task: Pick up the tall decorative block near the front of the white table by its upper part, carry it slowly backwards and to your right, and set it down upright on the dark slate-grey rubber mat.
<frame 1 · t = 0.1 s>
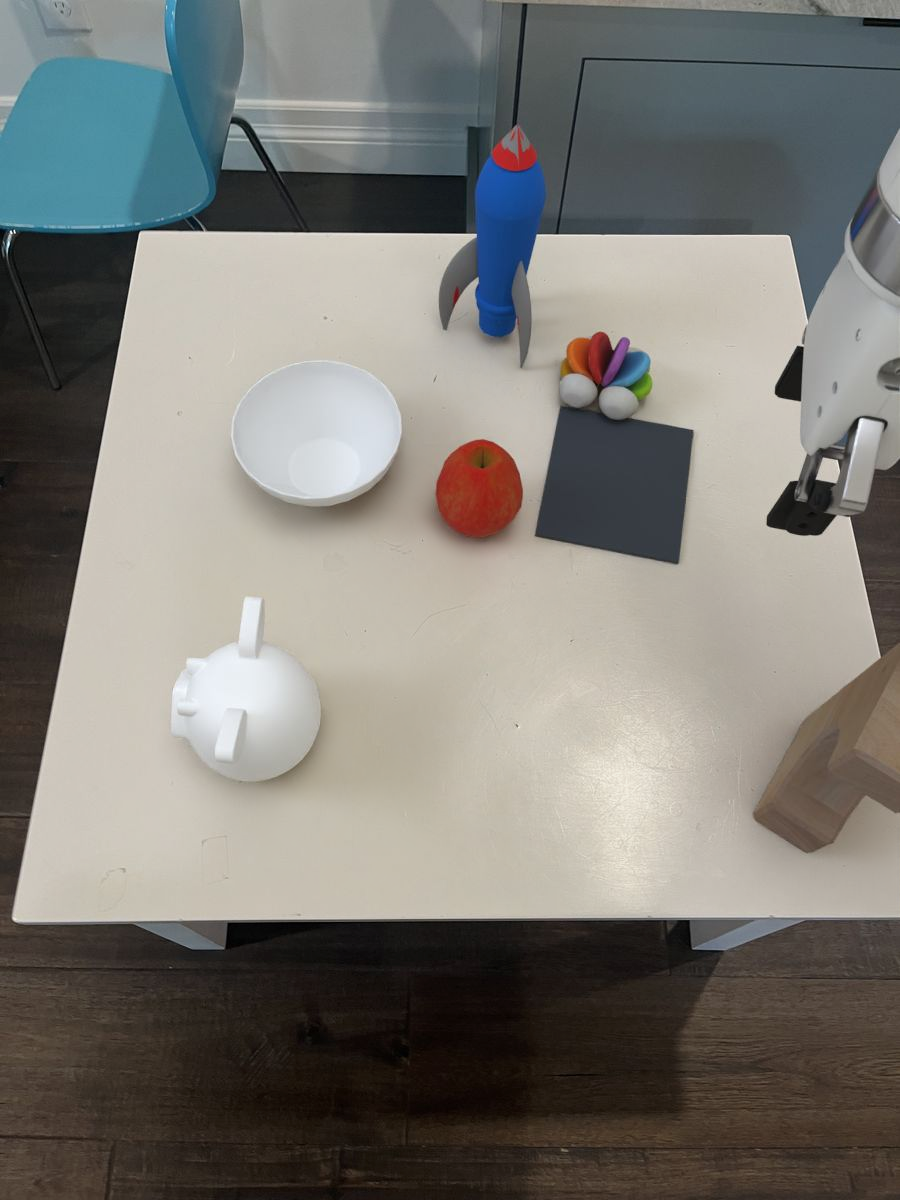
hand: (795, 459, 53), 30 cm above the table, tool pointing down, fingers open, 9 cm apart
mat: (616, 482, 88), on the table
piggy bank: (260, 736, 76), on the table
bowl: (324, 469, 88), on the table
rainbow petal flower: (601, 392, 93), on the table, touching mat
apple: (476, 517, 86), on the table
decorative block: (806, 784, 76), on the table
toy rocket: (481, 335, 97), on the table
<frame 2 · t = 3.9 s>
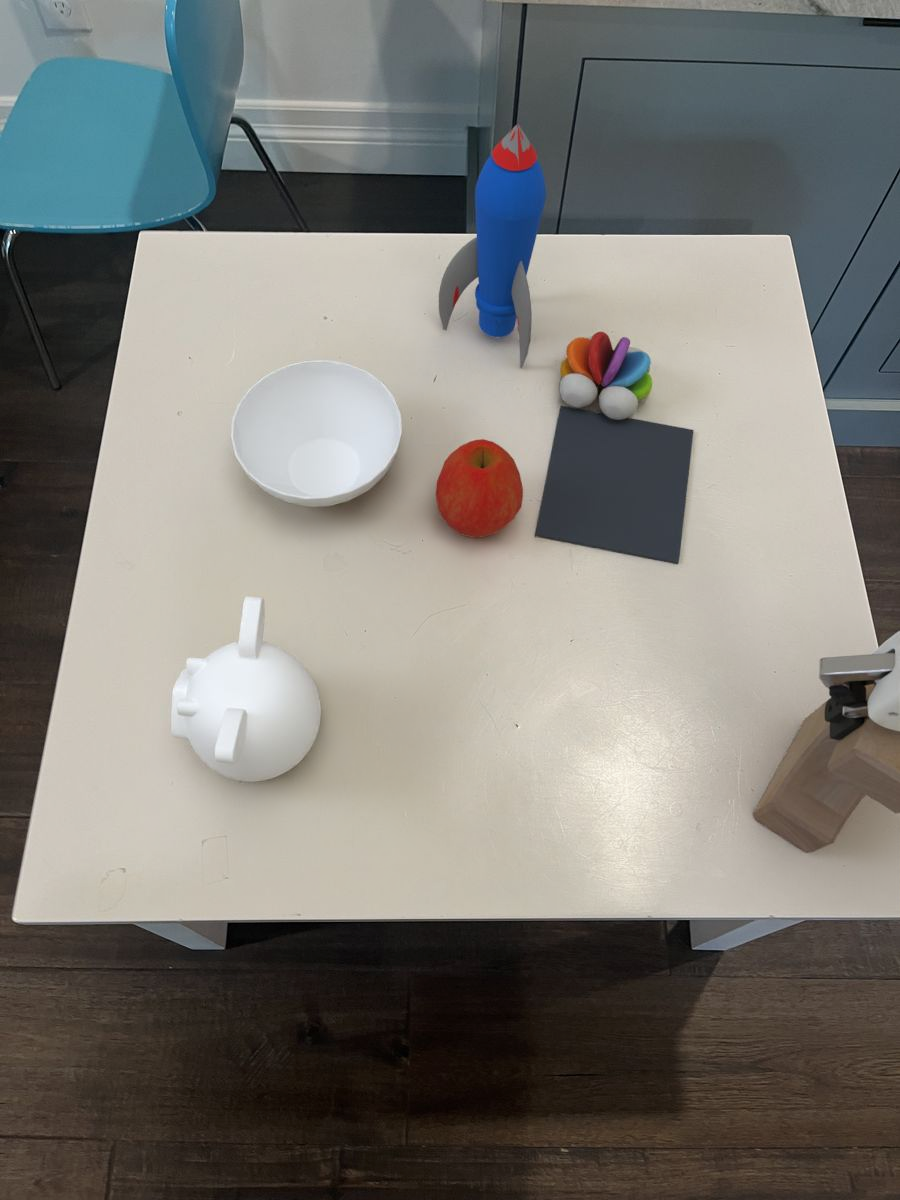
hand: (892, 730, 62), 15 cm above the table, tool pointing down, fingers closed on decorative block, 7 cm apart
decorative block: (806, 784, 76), on the table, touching gripper
everything else where it was.
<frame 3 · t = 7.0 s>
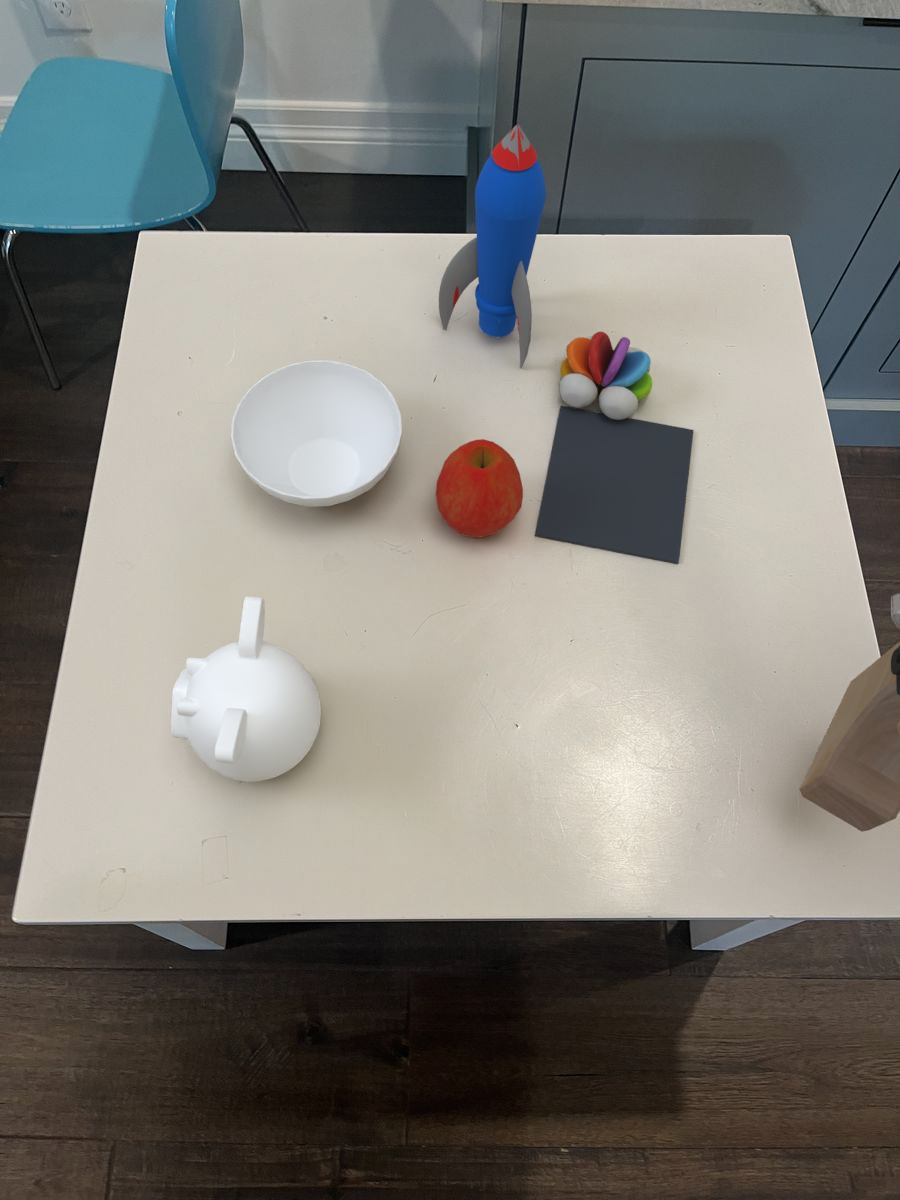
decorative block: (856, 755, 67), point 9 cm above the table, touching gripper
everything else where it was.
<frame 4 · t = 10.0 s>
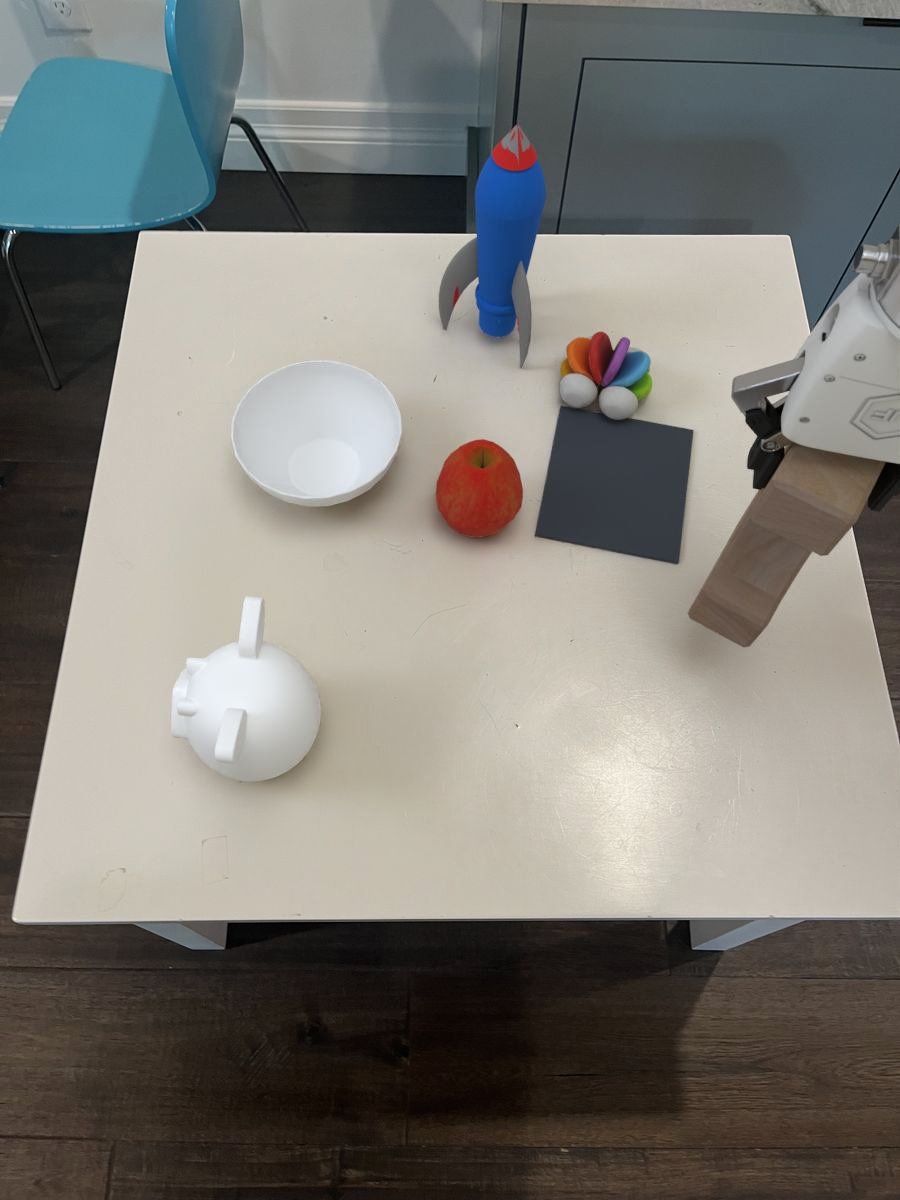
hand: (816, 481, 59), 25 cm above the table, tool pointing down, fingers closed on decorative block, 7 cm apart
decorative block: (741, 584, 73), point 9 cm above the table, touching gripper
everything else where it was.
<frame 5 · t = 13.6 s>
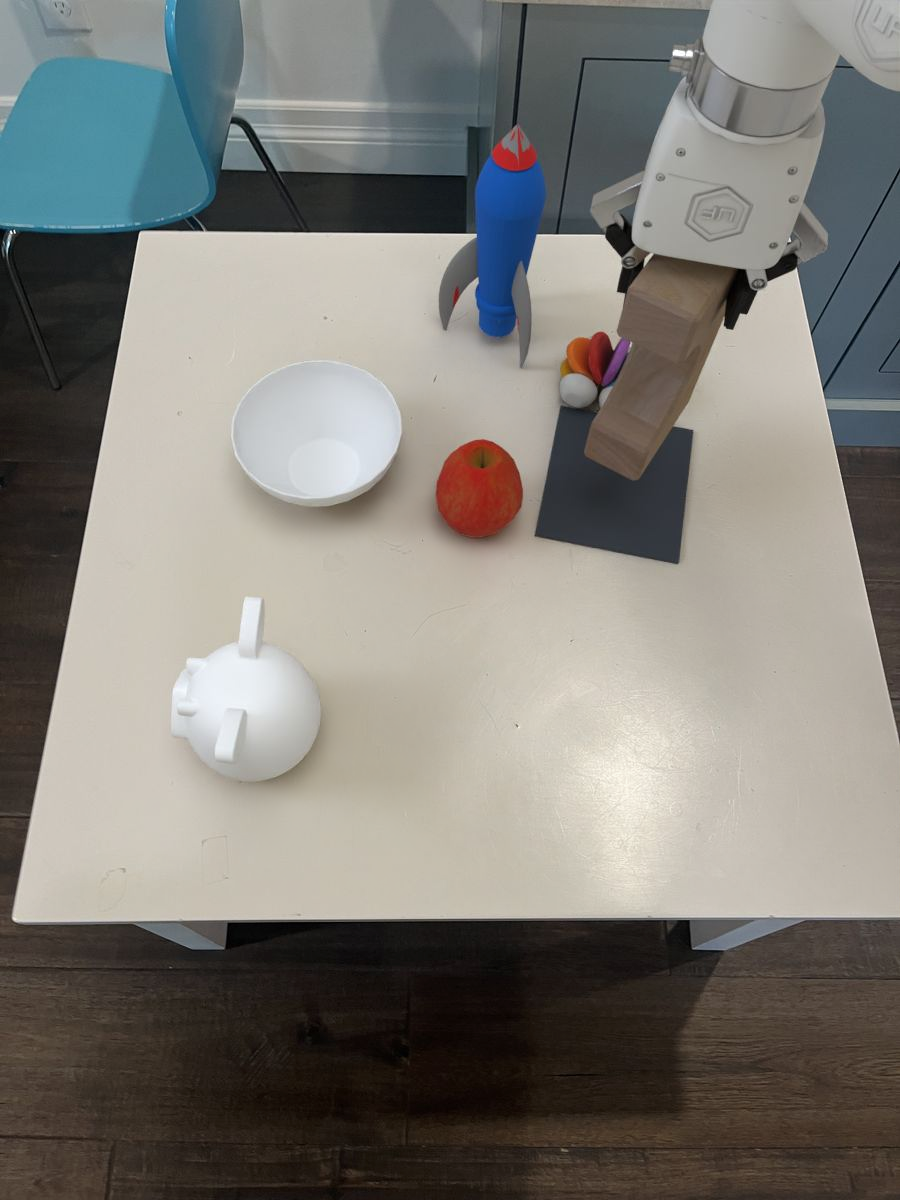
hand: (679, 305, 66), 24 cm above the table, tool pointing down, fingers closed on decorative block, 7 cm apart
decorative block: (635, 430, 80), point 9 cm above the table, touching gripper
everything else where it was.
when the fingers open (16 cm above the table, at t = 16.4 s): decorative block stays where it is, resting on mat.
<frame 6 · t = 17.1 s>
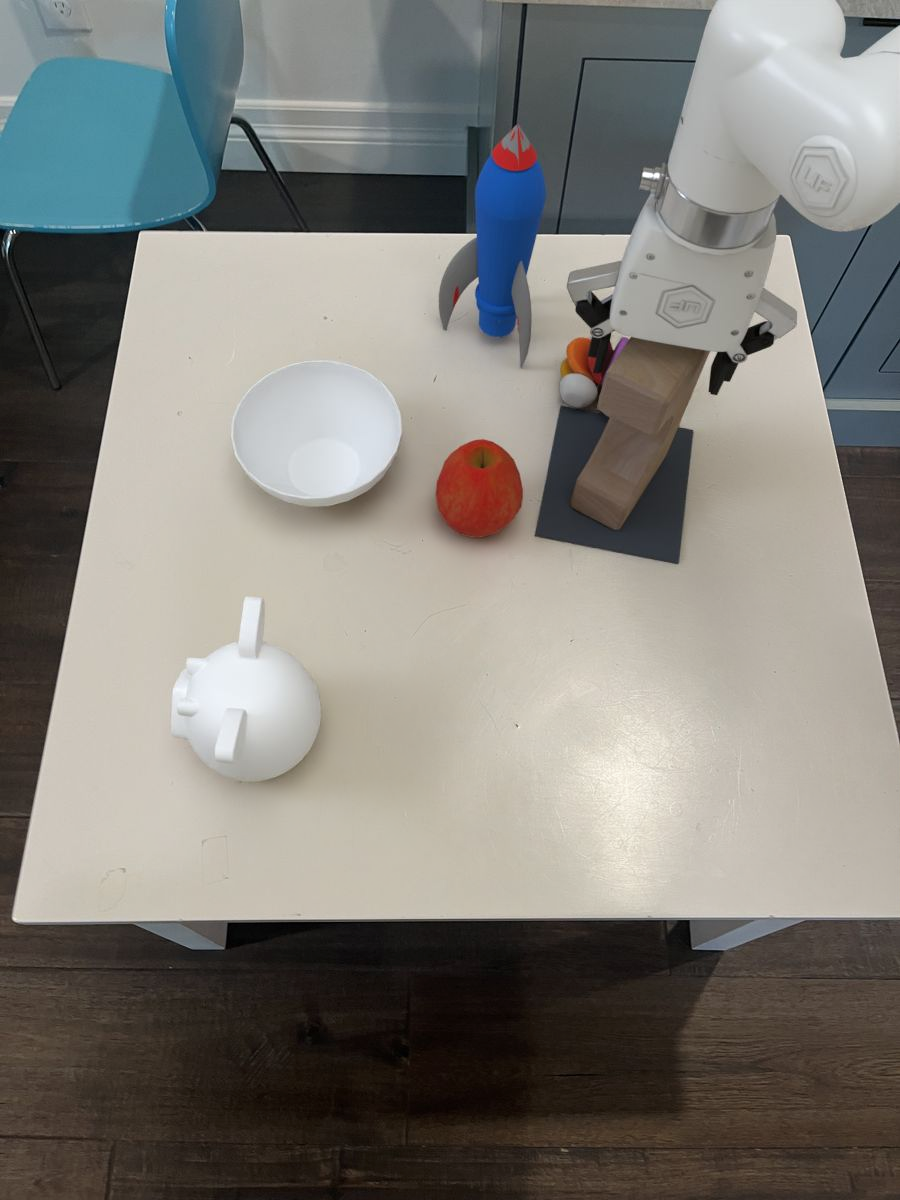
hand: (656, 371, 73), 17 cm above the table, tool pointing down, fingers open, 9 cm apart
decorative block: (617, 482, 88), resting on mat
everything else where it was.
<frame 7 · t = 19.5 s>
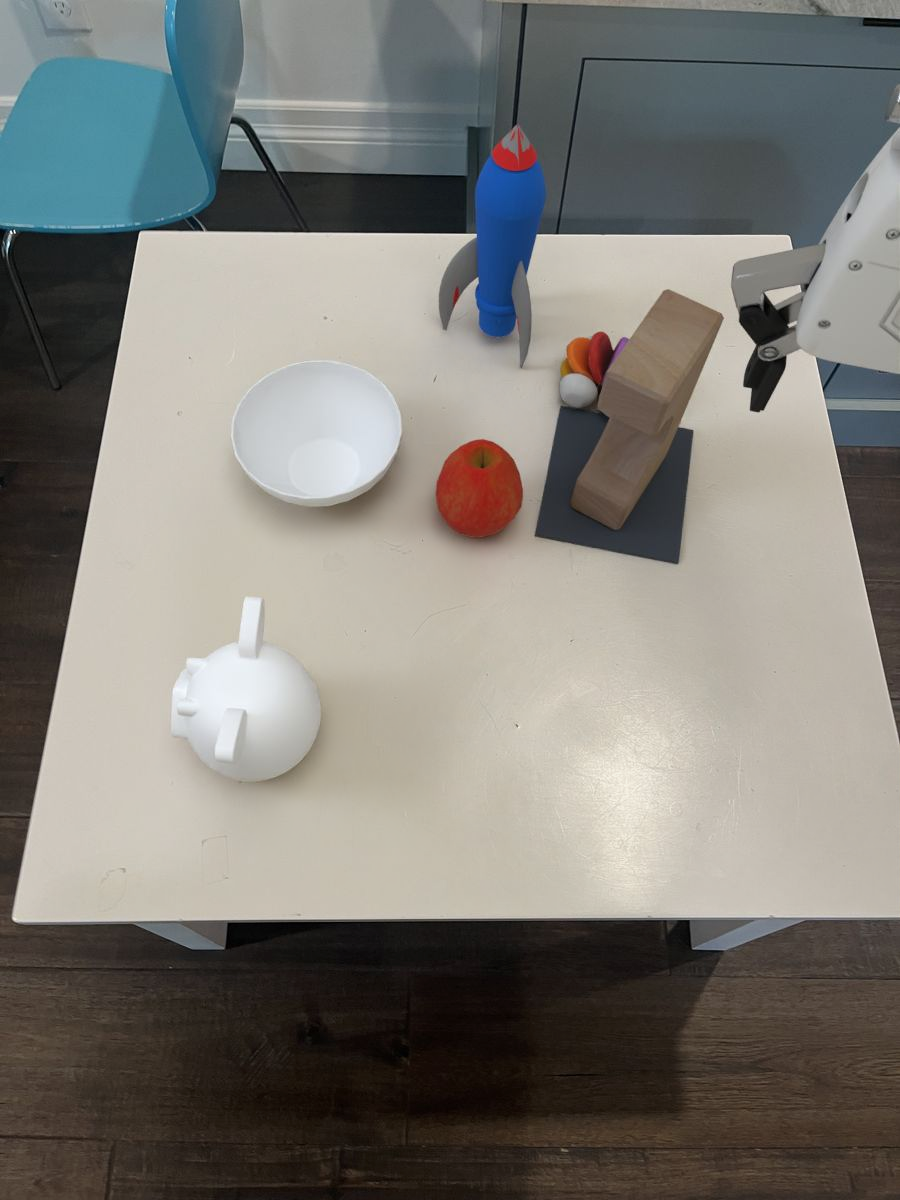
hand: (841, 408, 50), 34 cm above the table, tool pointing down, fingers open, 9 cm apart
nothing on the table moved.
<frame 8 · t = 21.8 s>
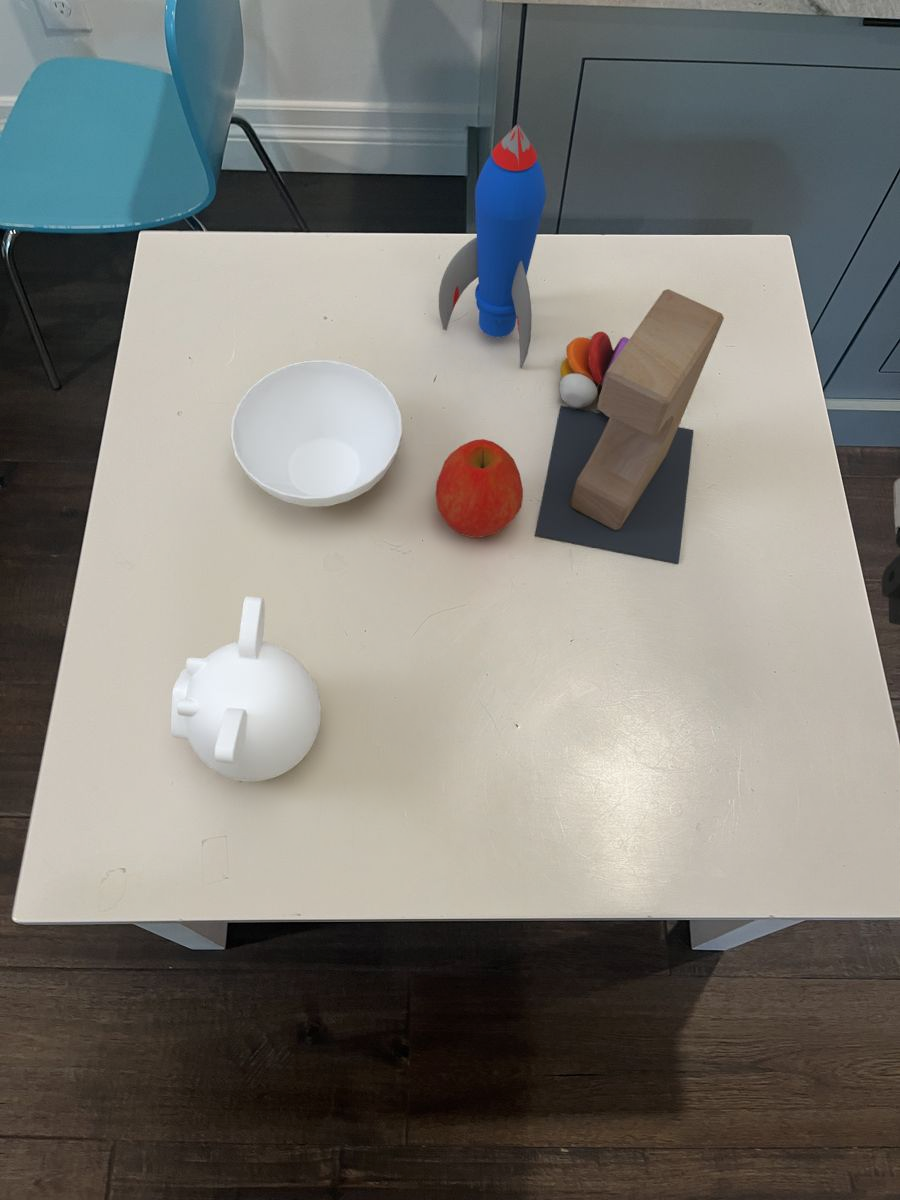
nothing on the table moved.
at the end: decorative block inside the target area on the mat (0.1 cm from its centre), point 0.2 cm above the mat's base; decorative block tilted 0°; the gripper is holding nothing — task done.
